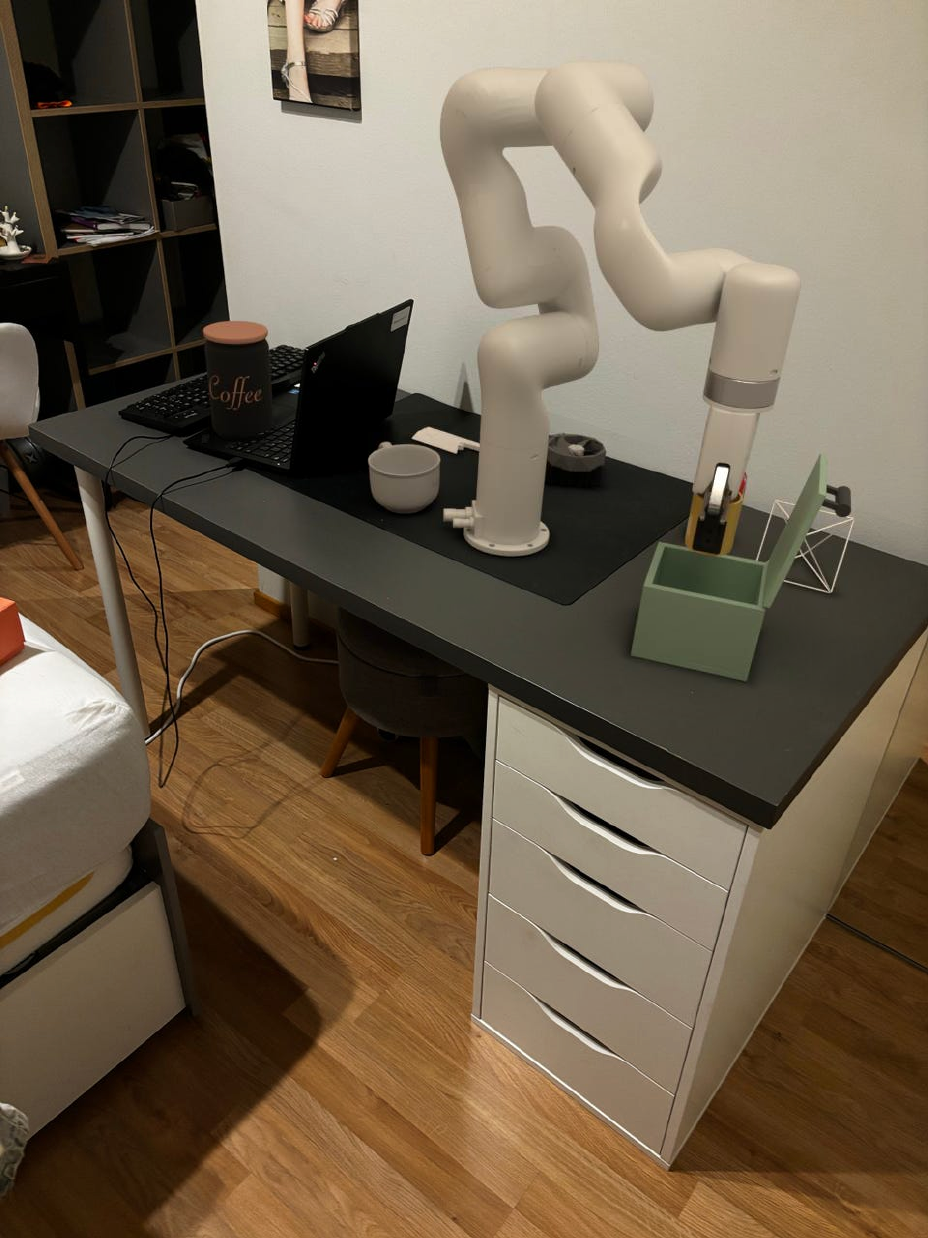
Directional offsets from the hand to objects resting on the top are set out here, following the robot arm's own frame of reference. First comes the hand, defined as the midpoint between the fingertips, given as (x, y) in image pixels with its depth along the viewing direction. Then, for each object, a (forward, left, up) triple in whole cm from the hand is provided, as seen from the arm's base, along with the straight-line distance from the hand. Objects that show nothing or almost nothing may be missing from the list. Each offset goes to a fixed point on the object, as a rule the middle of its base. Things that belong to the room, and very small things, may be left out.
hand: (709, 538), depth 110 cm
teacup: (-34, +40, -15) cm, 54 cm away
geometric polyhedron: (+21, +17, -15) cm, 31 cm away
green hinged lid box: (+1, 0, -15) cm, 15 cm away
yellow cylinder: (0, 0, -1) cm, 1 cm away
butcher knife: (-24, +62, -15) cm, 68 cm away
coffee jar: (-61, +68, -15) cm, 92 cm away
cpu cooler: (-5, +50, -15) cm, 52 cm away
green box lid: (+8, -3, +3) cm, 9 cm away
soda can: (+12, +28, -15) cm, 34 cm away
